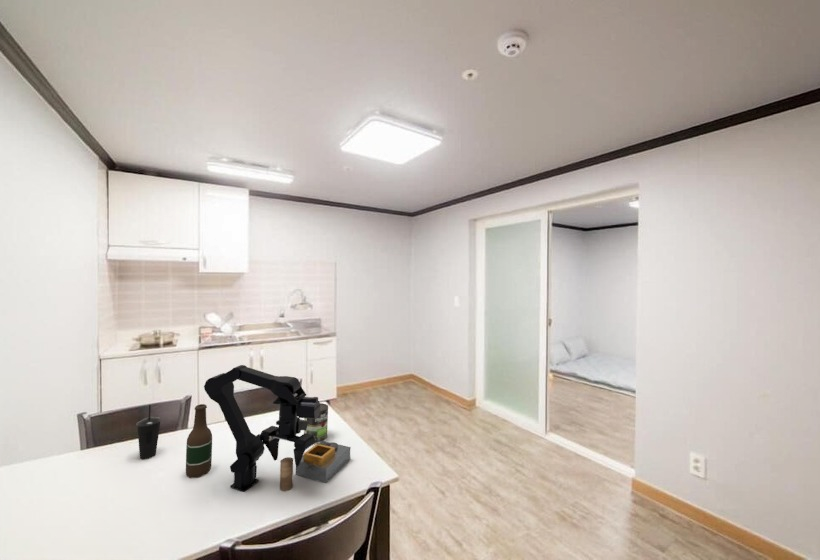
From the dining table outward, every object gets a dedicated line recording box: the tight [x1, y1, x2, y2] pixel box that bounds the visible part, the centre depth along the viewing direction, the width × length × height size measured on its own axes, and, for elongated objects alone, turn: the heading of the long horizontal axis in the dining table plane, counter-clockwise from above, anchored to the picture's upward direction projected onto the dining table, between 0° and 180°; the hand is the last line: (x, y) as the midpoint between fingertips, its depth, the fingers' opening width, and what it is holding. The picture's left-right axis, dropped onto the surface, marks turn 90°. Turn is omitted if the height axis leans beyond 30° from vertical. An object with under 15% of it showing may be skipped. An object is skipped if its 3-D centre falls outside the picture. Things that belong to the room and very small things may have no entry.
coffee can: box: [303, 402, 329, 445], centre depth 143 cm, size 10×10×14 cm
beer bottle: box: [185, 403, 213, 479], centre depth 116 cm, size 8×8×24 cm
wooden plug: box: [279, 456, 294, 492], centre depth 109 cm, size 4×4×9 cm
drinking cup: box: [135, 404, 162, 460], centre depth 126 cm, size 8×8×20 cm
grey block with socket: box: [294, 441, 351, 484], centre depth 121 cm, size 16×13×8 cm
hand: (286, 462), depth 109 cm, fingers open, 9 cm apart
